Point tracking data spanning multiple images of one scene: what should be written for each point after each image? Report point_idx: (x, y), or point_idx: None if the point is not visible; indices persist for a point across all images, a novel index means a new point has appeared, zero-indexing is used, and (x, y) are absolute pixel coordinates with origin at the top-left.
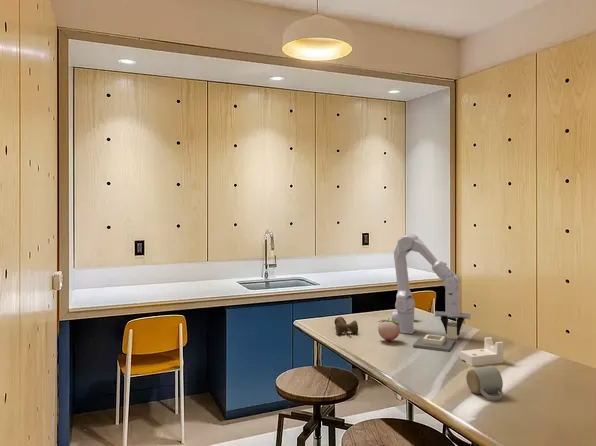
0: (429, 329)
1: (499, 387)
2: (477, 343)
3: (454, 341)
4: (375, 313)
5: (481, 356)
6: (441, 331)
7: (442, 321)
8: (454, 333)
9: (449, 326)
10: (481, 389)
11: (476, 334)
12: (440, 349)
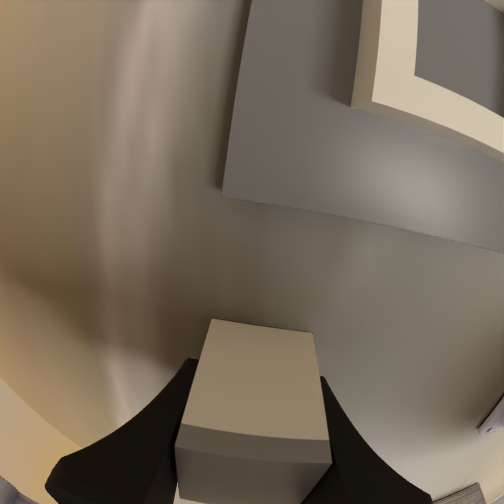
0: (396, 467)
1: None
2: (30, 219)
3: (227, 165)
4: (493, 498)
5: None
6: None
7: (404, 487)
8: (227, 362)
9: (291, 438)
10: None
11: (105, 433)
12: None
